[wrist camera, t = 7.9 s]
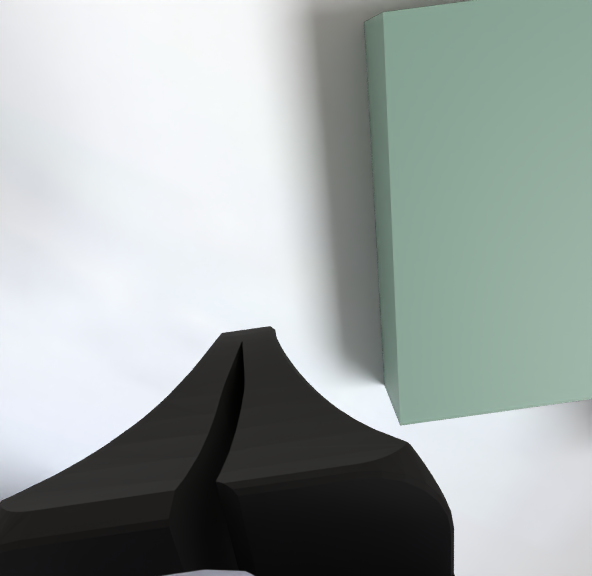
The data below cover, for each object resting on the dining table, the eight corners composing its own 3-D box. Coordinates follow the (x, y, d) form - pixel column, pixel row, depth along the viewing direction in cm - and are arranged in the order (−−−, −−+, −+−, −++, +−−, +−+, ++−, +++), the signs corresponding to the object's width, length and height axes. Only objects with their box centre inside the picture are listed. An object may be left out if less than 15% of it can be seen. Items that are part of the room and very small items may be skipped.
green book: (382, 380, 25) (400, 425, 21) (361, 23, 18) (383, 12, 15) (616, 347, 25) (668, 388, 21) (678, -19, 18) (766, -39, 15)
